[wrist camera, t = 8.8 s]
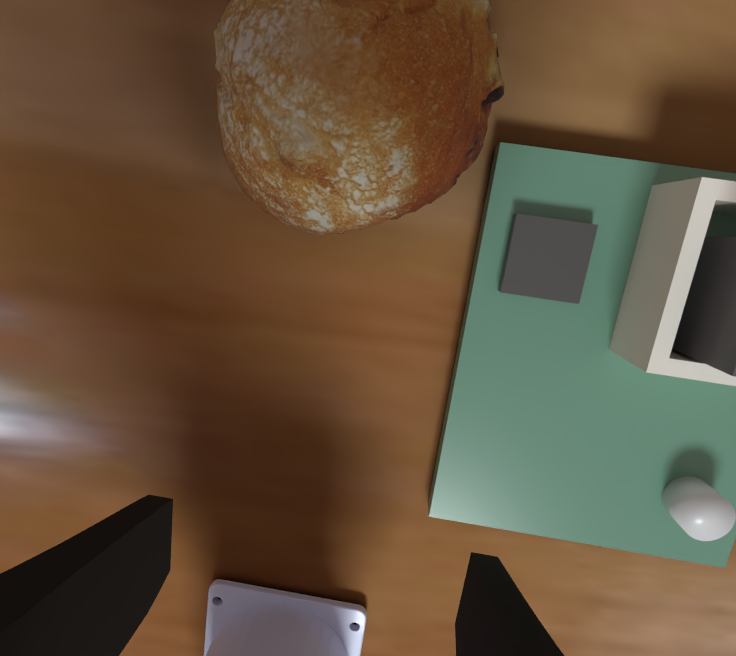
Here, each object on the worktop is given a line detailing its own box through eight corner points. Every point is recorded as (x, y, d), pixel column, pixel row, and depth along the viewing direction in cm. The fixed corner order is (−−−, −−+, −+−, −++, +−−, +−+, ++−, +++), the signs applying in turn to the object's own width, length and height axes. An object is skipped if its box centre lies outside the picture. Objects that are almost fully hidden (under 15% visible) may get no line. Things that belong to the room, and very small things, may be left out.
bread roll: (286, 18, 21) (123, -66, 15) (513, -76, 16) (421, -272, 10) (312, 236, 23) (179, 249, 17) (522, 215, 18) (451, 222, 12)
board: (710, 552, 21) (749, 594, 19) (428, 503, 22) (430, 538, 19) (836, 192, 18) (904, 186, 15) (495, 146, 18) (509, 134, 16)
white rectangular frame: (746, 370, 18) (810, 397, 16) (608, 349, 19) (646, 372, 16) (802, 205, 17) (883, 201, 14) (652, 185, 17) (702, 176, 14)
